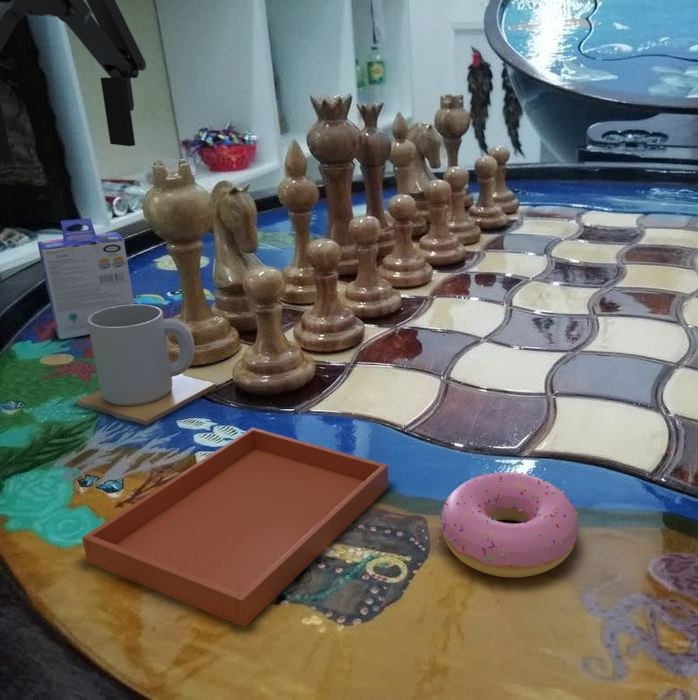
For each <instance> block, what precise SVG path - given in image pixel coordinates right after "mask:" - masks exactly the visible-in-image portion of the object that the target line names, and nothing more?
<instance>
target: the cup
mask: <svg viewBox="0 0 698 700" xmlns="http://www.w3.org/2000/svg"><path fill="white" fill-rule="evenodd" d="M87 321H88V327H89V332H90V334H89V337H90V343H91V348H92V354H93V359H94V364H95V365H94V366H95V370H96V376H97V380H98V386H99V390H100V391H101V395H102V397H103V398H104V399H105V400H106V401H107V402H109V403H110V404H114V405H118V406H136V405H143V404H147V403H151V402H154V401H157V400H159V399H161V398H163V397H165V396H166V395H167V394H168V393H169V391H170V390H171V388H172V376H176V375H179V374H180V375H182V374H183V373H185V372H186V371H187V370H188V369H189V368H190V367H191V365H192V363H193V360H194V357H195V351H196V349H195V347H196V346H195V340H194V337H193V333H192V332H191V330H190V329H189V327H188V326H187V324H186V323H184V322H183V321H181V320H179V319H177V318H171V317H168V318H167V317H166V318H165V317H164V313H163V309H161V308H160V307H158V306H156V305H150V304H142V303H139V304H135V303H134V304H131V305H121V306H115V307H110V308H106V309H103V310H100V311H97V312H95V313H93V314H91V315H90V316H89V317H88V320H87ZM168 333H171V334H173V335H174V337H175V338H176V340H177V343H178V349H179V351H178V356H177V359H176V360H175V361H173V362H171V361H170V355H169V354H170V353H169V348H168V347H169V346H168V341H167V340H168V339H167V334H168Z"/></svg>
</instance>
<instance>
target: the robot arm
mask: <svg viewBox="0 0 698 700" xmlns="http://www.w3.org/2000/svg"><path fill="white" fill-rule="evenodd" d="M92 14H93V15H92ZM26 16H32V17H33V16H35V17H55V18H56V17H57V18H58V20H59V21H62V22H63V23H64V24H66V25H67V26H68V28H69V29H70V30H71V31H72V33H73V34H74V35H75V36H76V37H77V38H78V40H79V41H80V42H81V44H82V45H83V46H84V47H85V48H86V50H87V51H88V52H89V53H90V55H91V56H92V57H93V58H94V59H95V60H96V62H97V63H98V64H99V66H100V67H101V68H102V69H103V70H104V72H105V73H106V74H107V75H108V76H109V77H100V85H101V92H102V98H103V105H104V110H105V117H106V124H107V131H108V137H109V144H110V145H114V146H115V145H116V146H123V147H135V146H136V139H135V133H134V125H133V118H132V112H131V111H134V108H135V102H134V94H133V86H132V79H137V78H138V77H139V74H140V72H143V71H145V70H146V69H147V63H146V60H145V58H144V56H143V54H142V52H141V50H140V48H139V46H138V44H137V42H136V40H135V37H134V36H133V33H132V31H131V30H130V27H129V25H128V24H127V21H126V19H125V18H124V15H123V13H122V11H121V9H120V7H119V5H118V3H117V1H116V0H85V1H84V0H0V53H1V52H2V51H3V49H4V47H5V45H6V43H7V41H8V40H9V38H10V36H11V34H12V33H13V31H14V28H15V27H16V26H17V24H18V22H19V21H20V20H22V19H24V17H26ZM93 16H94V17H93ZM7 132H8V131H7V128H6V122H5V118H4V113H3V107H2V102H1V101H0V163H4V164H5V163H13V157H12V151H11V147H10V142H9V138H8V133H7Z"/></svg>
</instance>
